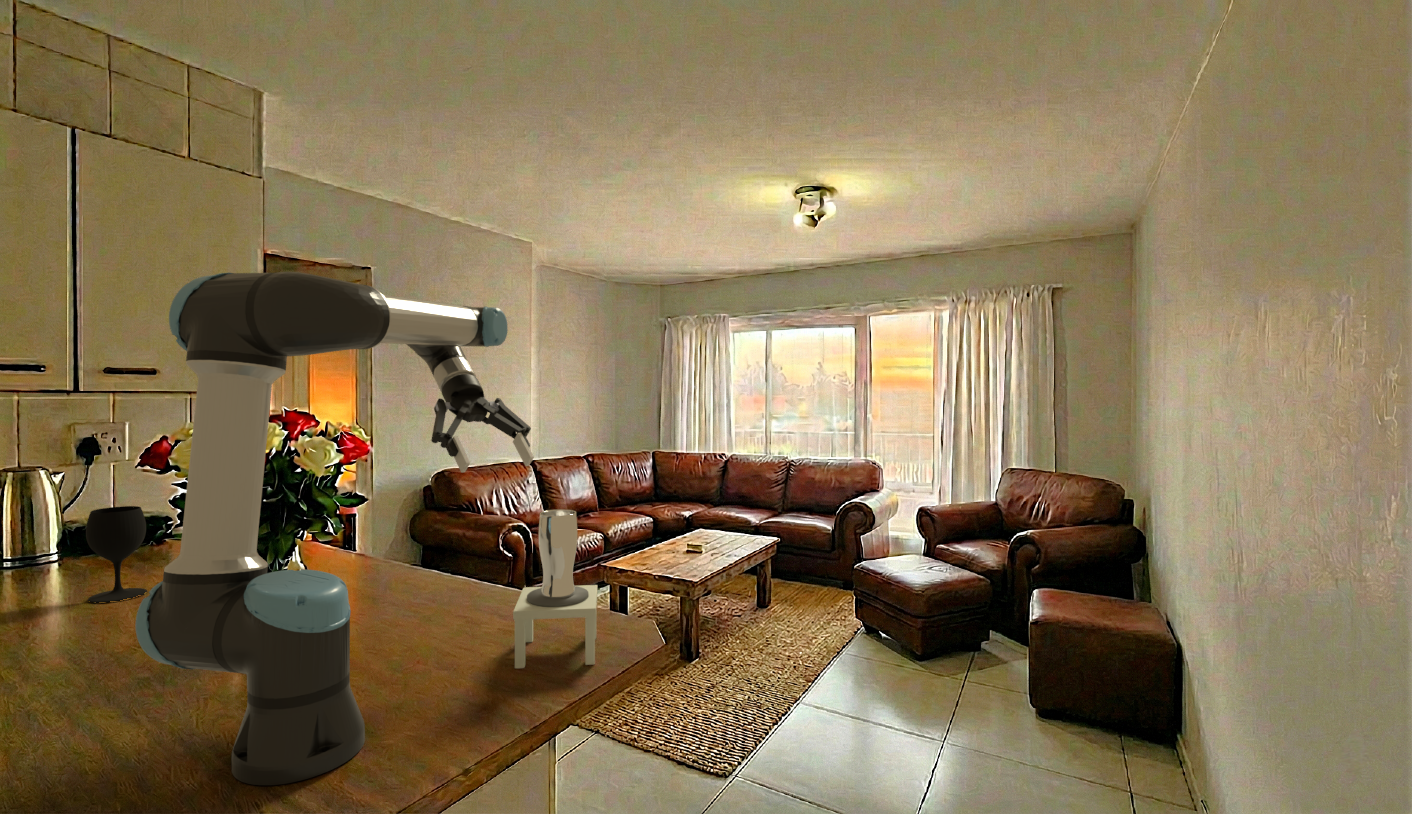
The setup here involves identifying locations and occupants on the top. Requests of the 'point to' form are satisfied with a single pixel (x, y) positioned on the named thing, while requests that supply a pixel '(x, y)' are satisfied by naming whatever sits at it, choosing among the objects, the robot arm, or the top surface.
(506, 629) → the top surface
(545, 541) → the beer glass
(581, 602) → the stool
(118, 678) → the top surface
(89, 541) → the wine glass
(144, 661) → the top surface
